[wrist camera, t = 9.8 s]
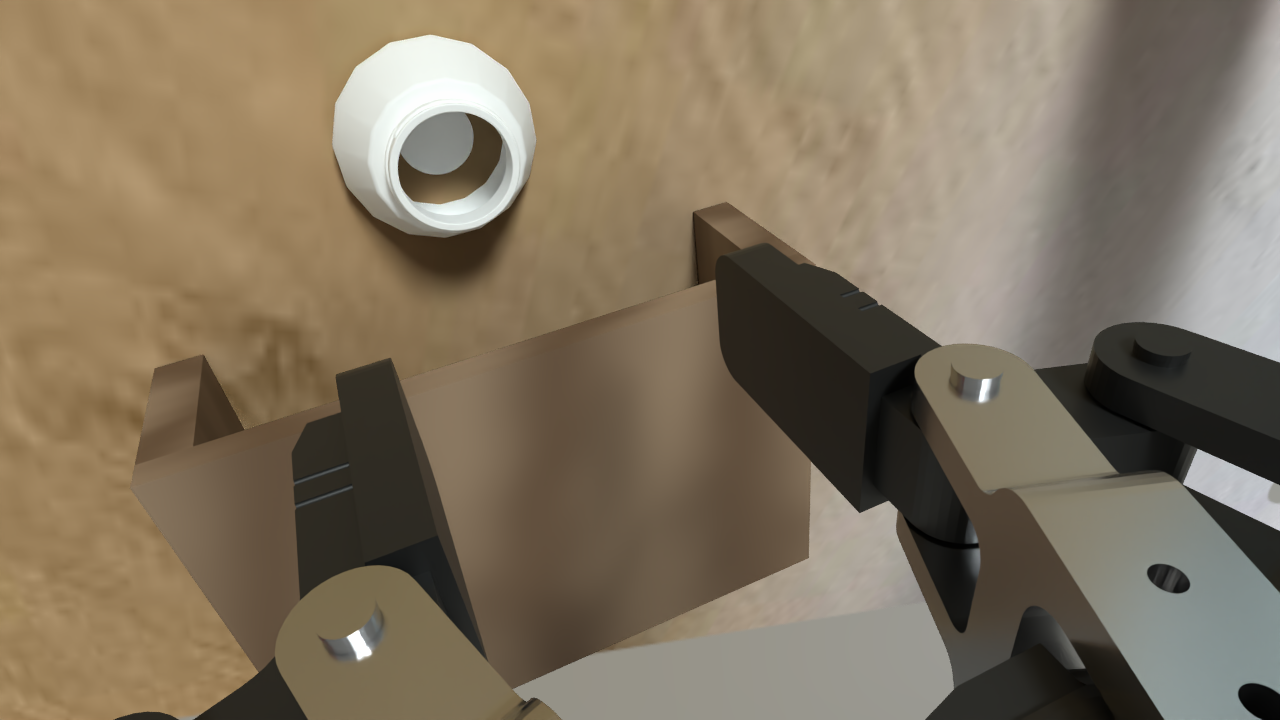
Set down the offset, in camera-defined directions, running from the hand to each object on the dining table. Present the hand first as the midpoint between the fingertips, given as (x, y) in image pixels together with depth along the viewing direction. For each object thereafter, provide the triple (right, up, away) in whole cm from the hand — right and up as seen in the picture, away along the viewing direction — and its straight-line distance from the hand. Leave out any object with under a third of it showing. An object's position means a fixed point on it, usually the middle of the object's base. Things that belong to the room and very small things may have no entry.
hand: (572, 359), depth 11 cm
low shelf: (-3, -2, +15) cm, 15 cm away
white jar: (-4, +6, +9) cm, 12 cm away
